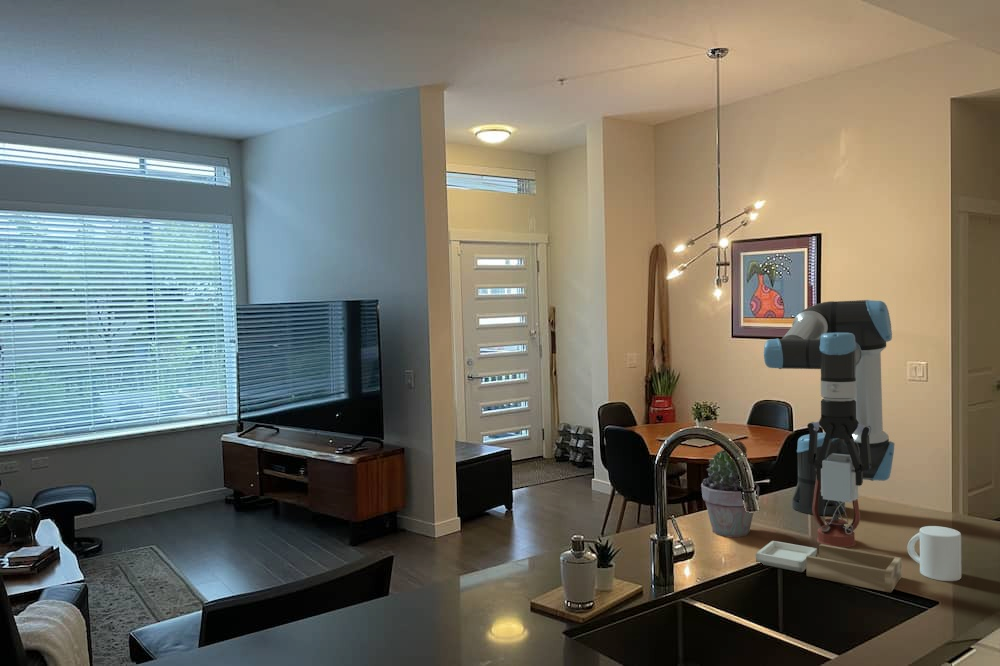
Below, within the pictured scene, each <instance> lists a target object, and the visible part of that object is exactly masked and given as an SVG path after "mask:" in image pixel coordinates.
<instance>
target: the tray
mask: <svg viewBox="0 0 1000 666" xmlns="http://www.w3.org/2000/svg"><path fill="white" fill-rule="evenodd" d="M807 556H814V557H818V548H817V547H811V546H806V545H799V544H793V543H788V542H783V541H777V540H771V541H770V542H769V543H767V544H765V546H763V547H762V548H761V549H759V550H757V552H756V553H755V563H756V562H760V563H762V564H763V566H768V567H773V568H778V569H784V570H788V571H792V572H793V571H794V572H798V573H803V572H805V570H806V557H807ZM762 564H761V565H762Z"/></svg>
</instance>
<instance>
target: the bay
mask: <svg viewBox="0 0 1000 666" xmlns="http://www.w3.org/2000/svg"><path fill="white" fill-rule="evenodd" d="M805 570H806V573H805V574H806V576H807V577H811V578H814V579H815V578H816V579H821V580H826V581H831V582H836V583H840V584H846V585H851V586H857V587H860V588H866V589H871V590H876V591H879V592H880V591H881V592H886V593H892V592H893V590H894V588H895V587H896V586H897V584H898V583H899V581H900V580H901V578H902V557H898V556H892V555H887V554H881V553H874V552H870V551H864V550H859V549H852V548H848V547H835V546H829V545H824V544H821V543H820V544H819V545H818V556H817V557H814V556H807V557H806V569H805Z"/></svg>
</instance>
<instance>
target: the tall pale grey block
mask: <svg viewBox="0 0 1000 666" xmlns="http://www.w3.org/2000/svg"><path fill="white" fill-rule="evenodd" d="M854 470H855V469H854V466H853V463H852V460H851V457H850V455H845V454H835V453H832V454H831V455H829V456H828V458H826V459H825V460H823V461H822V477H823V499H826V500H834V501H841V502H845V503H848V504H849V503H853V502H852V501H853V500H852V471H854Z"/></svg>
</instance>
